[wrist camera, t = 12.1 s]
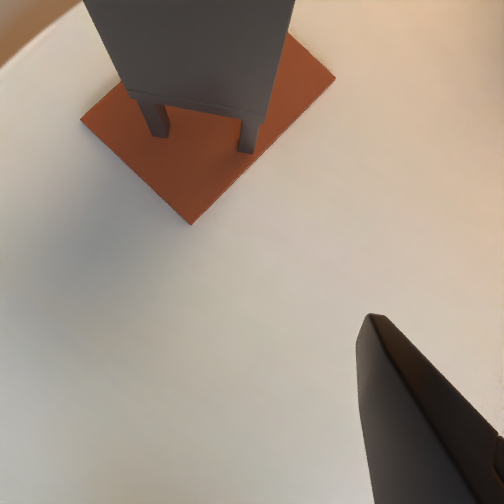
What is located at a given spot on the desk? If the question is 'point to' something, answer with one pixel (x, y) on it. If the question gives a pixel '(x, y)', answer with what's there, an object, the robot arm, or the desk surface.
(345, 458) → the desk surface
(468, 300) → the desk surface
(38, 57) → the desk surface
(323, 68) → the mat
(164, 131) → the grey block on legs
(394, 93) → the desk surface
